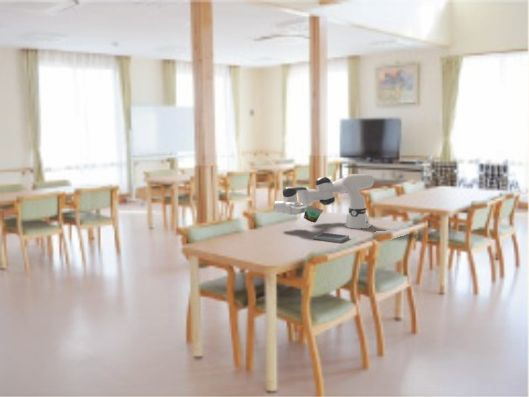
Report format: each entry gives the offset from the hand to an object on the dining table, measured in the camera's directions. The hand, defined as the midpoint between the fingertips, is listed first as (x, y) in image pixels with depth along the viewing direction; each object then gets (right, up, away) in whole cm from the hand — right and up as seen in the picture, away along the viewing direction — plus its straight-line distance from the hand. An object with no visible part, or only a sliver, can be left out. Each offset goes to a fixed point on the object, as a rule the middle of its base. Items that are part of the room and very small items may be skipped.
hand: (312, 210), depth 367 cm
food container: (-1, -7, 0) cm, 8 cm away
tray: (+11, -19, -16) cm, 27 cm away
